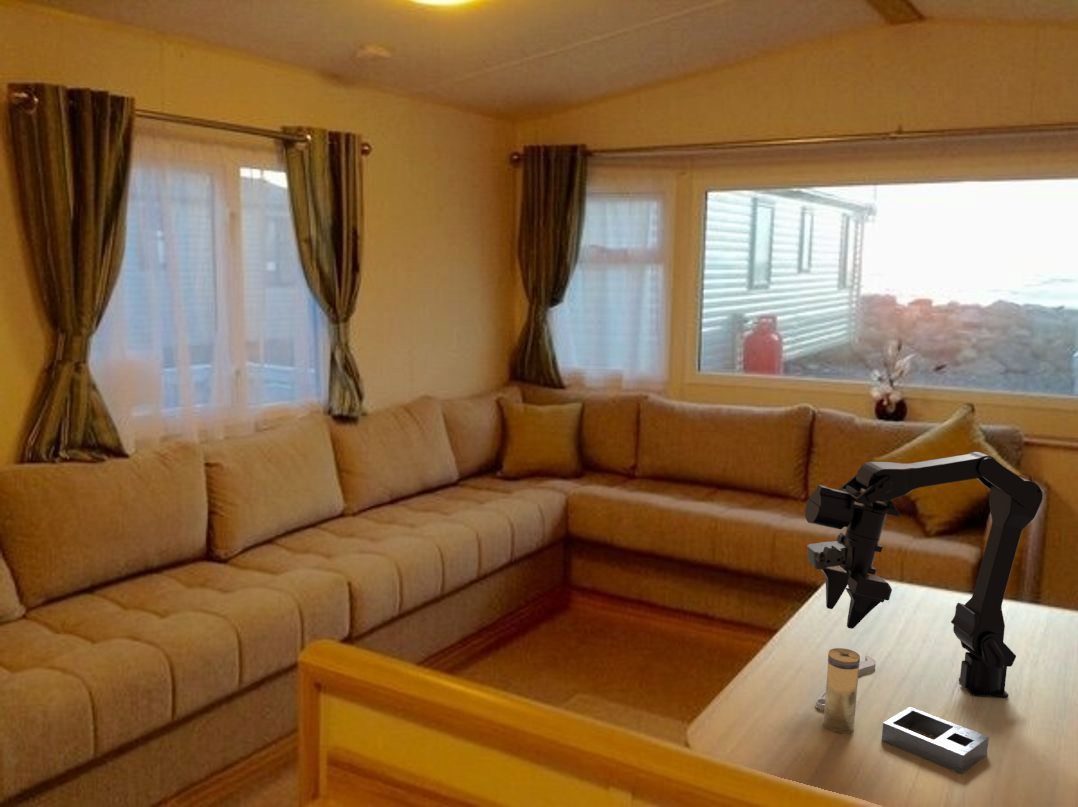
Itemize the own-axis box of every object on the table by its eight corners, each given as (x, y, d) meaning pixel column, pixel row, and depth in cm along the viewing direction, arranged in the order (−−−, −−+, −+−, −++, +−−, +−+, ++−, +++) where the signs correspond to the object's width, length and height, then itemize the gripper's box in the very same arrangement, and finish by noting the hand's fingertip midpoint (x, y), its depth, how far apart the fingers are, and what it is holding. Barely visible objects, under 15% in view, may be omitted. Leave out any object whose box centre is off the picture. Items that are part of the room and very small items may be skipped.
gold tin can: (849, 719, 154) (855, 648, 152) (857, 734, 149) (863, 661, 148) (819, 718, 155) (825, 647, 153) (827, 732, 150) (832, 659, 148)
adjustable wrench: (828, 715, 157) (829, 706, 156) (792, 704, 161) (793, 694, 160) (878, 667, 176) (879, 658, 176) (845, 658, 180) (846, 649, 180)
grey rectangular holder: (986, 755, 144) (988, 737, 143) (961, 774, 138) (963, 755, 138) (908, 723, 153) (910, 706, 153) (881, 740, 148) (883, 722, 147)
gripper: (800, 511, 169) (778, 591, 171) (840, 540, 151) (815, 630, 153) (857, 523, 170) (835, 602, 172) (904, 554, 152) (878, 642, 154)
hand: (839, 618), depth 163 cm, fingers open, 9 cm apart
